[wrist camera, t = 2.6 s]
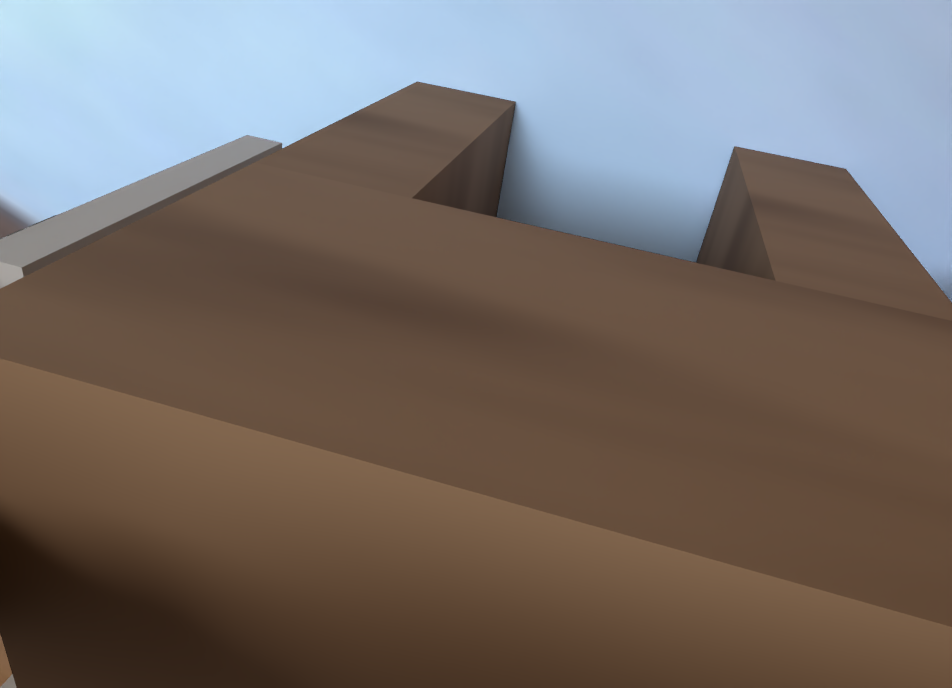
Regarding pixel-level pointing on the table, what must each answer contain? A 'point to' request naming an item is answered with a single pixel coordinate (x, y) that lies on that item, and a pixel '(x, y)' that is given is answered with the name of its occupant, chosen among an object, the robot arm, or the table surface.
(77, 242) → the robot arm
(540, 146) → the table surface
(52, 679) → the spacer
